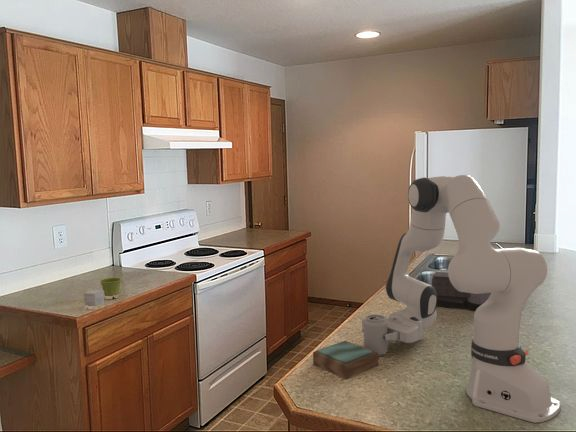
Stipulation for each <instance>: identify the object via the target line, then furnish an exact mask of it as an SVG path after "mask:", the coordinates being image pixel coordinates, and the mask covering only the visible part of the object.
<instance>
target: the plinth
mask: <svg viewBox="0 0 576 432" xmlns="http://www.w3.org/2000/svg"><path fill="white" fill-rule="evenodd" d="M312 357H313V358H312V359H313V361H312V362H313V363H312V364H313V366H316V367H318V368H319V369H320V368H321V369H323V370H324V371H327V372H330V373H331V374H333V375H336V376H338V377H340V378H343V379H345V380H347V379H350V378H352V377H354V376H357V375H359V374H361V373H365V372H367V371H368V370H370V369H373V368H375V367H378V366H379V356H378V353H377V352H375V351H372V350H369V349H366V348H364V346H360V345H359V344H358V345H357V344H355V343H352V342H350V341H347V340H343V341H341V342H340V341H339V342H338V343H335V344H332V345H328V346H326V347H324V348H320V349H317V350H316V351H313V352H312Z"/></svg>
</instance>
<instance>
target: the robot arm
mask: <svg viewBox="0 0 576 432" xmlns="http://www.w3.org/2000/svg"><path fill="white" fill-rule="evenodd" d="M407 197H408V198H407V199H408V202H409V205H410V207H411V208H412V210H411V217H410V223H409V224H410V225H409V228H408V230H407V232H405V233H403V234H402V235H401V237H400V239H399V242H398V244H397V248H396V251H395V255H394V259H393V262H392V266H391V271H390V274H389V275H388V278H387V280H386V283H385V291H386V295H387V297H388V298H389V299H391V300H393V301H396V302H399V303H401V304H404V305H406V307H405V308H402V309H400V310H397V311H394V312H391V314H390V315H389V316H388V317H386V316H384V317H385V320H386V321H387V333H385V334H383V339H384V340H387V342H388V341H392V340H396V341H399V342H403V343H406V344H412V343H414V342H418V341H421V340H422V339H423V331H424V330H427V329H428V328H430V327H432V325H433V324H434V323H435V322H436V320H437V316H438V314H437V313H438V312H437V307H436V306H437V300H438V299H437V293H436V290H435V288H434V287H433V286H432V284H429V283H427V282H423V281H421V280H419V279H416V278H414V277H412V276H410V274H409V273H408V269H409V265H410V262H411V257H412V255H413V253H415V252H423V251H424V252H426V251H430V250H432V249H436V248H437V247H438V246H440V244H441V243H442V242H443V239H444V236H445V235H444V234H445V228H446V219H447V218H446V217H447V214H449V217H450V219H451V221H452V224H453V226H454V229H455V231H456V234H457V238H458V249H457V252H456V253H455V255H453V257H452V258H451V260H450V261H449V264H448V268H447V273H448V276H449V280H450V282H451V284H452V285H453V286H454V288H455V289H457V290H458V291H460V292H466V293H474V294H481V293H491V295H490V297H489V298H488V299H487V301H486V302H485V303H483V304H482V305H481V306H479V307H478V308H477V309H476V311H474V314H473V335H472V336H473V337H472V340H471V349H470V350H471V351H470V354H471V359H472V360H471V368H470V373H469V379H468V382H467V385H466V388H465V392H466V394H467V396H468V397H469V398H470V399H471V404H472V405H473V406H476V407H479V408H482V409H485V410H489V411H492V412H496V413H499V414H503V415H506V416H509V417H513V418H516V419H519V420H523V421H526V422H531V423H543V422H546V421H549V420H552V419H553V418H554V417H556V416H557V415H558V414H559V413H560V411H561V402H560V400H558V399H556V398H554V397H552V395H551V389H550V384H549V383H548V381H547V379H545V377H543V376H542V375H541V374H540V373H539V372H538V371H536V369H535V368H534V367H533V366H531V364H529V363H528V361H527V360H526V357H527V356H528V355H529V349H526V350H525V351H524V350H523V349H522V346H521V344H520V329H521V319H522V314H523V311H524V308H525V306H526V304H527V302H528V301H529V298H531V297H530V296H531V295H532V294H533V293H534V291H535V290H537V288H538V287H541V285H542V284H543V283H544V282H545V280H546V278H547V275H548V264H547V262H546V259H545V257H544V256H543V254H541V252H539V251H537V250H535V249H530V248H525V247H509V248H507V247H506V248H495V247H493V246H492V244H491V242H492V241H493V240H494V239H495V238H497V236H498V234H499V232H500V226H501V225H500V221H499V219H498V217H497V215H496V212H495V211H494V209H493V206H492V205H491V203H490V200H489V198H488V196H487V195H486V193H485V192H484V190H483V188H482V187H481V185H480V184H479V182H478V180H476V179H474V177H472V176H471V175H468V174H467V175H466V174H460V175H456V176H444V175H443V176H432V177H421V178H416V179H415V180H414V179H413V181H412V182H411V184H410V185H409V187H408V191H407ZM365 320H366V316H365V317H364V316H363V317H362V319H361V333H363V334H364V321H365Z"/></svg>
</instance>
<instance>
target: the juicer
mask: <svg viewBox="0 0 576 432" xmlns="http://www.w3.org/2000/svg"><path fill="white" fill-rule="evenodd" d="M431 278H432V279H431V286H433V287H434V288H435V290H436V293H437V299H438V300H437V306H436V308H441V307H442V309H443V308H444V309H456V310H466V311H470V312H475V311H476V309H477V308H478V307H479V306H481V305H482V304H483V303H485V302H486V301H487V299H488V298H489V297H490V295H491V293H481V294H474V293H466V292H460V291H458V290H457V289H455V288H454V286H453V285H452V284H451V282H450V280H449V276H448V272H437V271H435V274H434V275H432V277H431Z"/></svg>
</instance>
